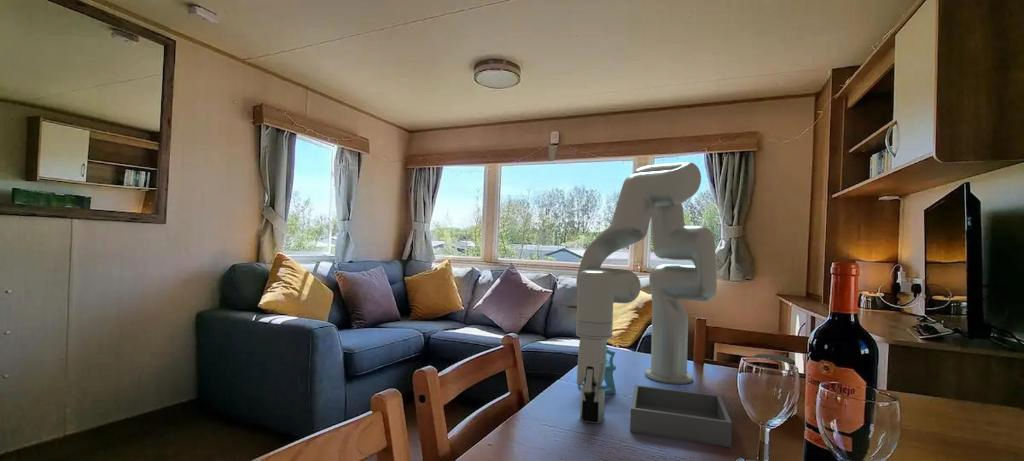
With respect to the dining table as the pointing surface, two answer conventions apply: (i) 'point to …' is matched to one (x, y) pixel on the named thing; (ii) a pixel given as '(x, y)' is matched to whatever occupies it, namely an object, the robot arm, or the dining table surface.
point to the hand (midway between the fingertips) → (591, 415)
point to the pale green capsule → (600, 407)
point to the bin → (680, 415)
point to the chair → (608, 375)
